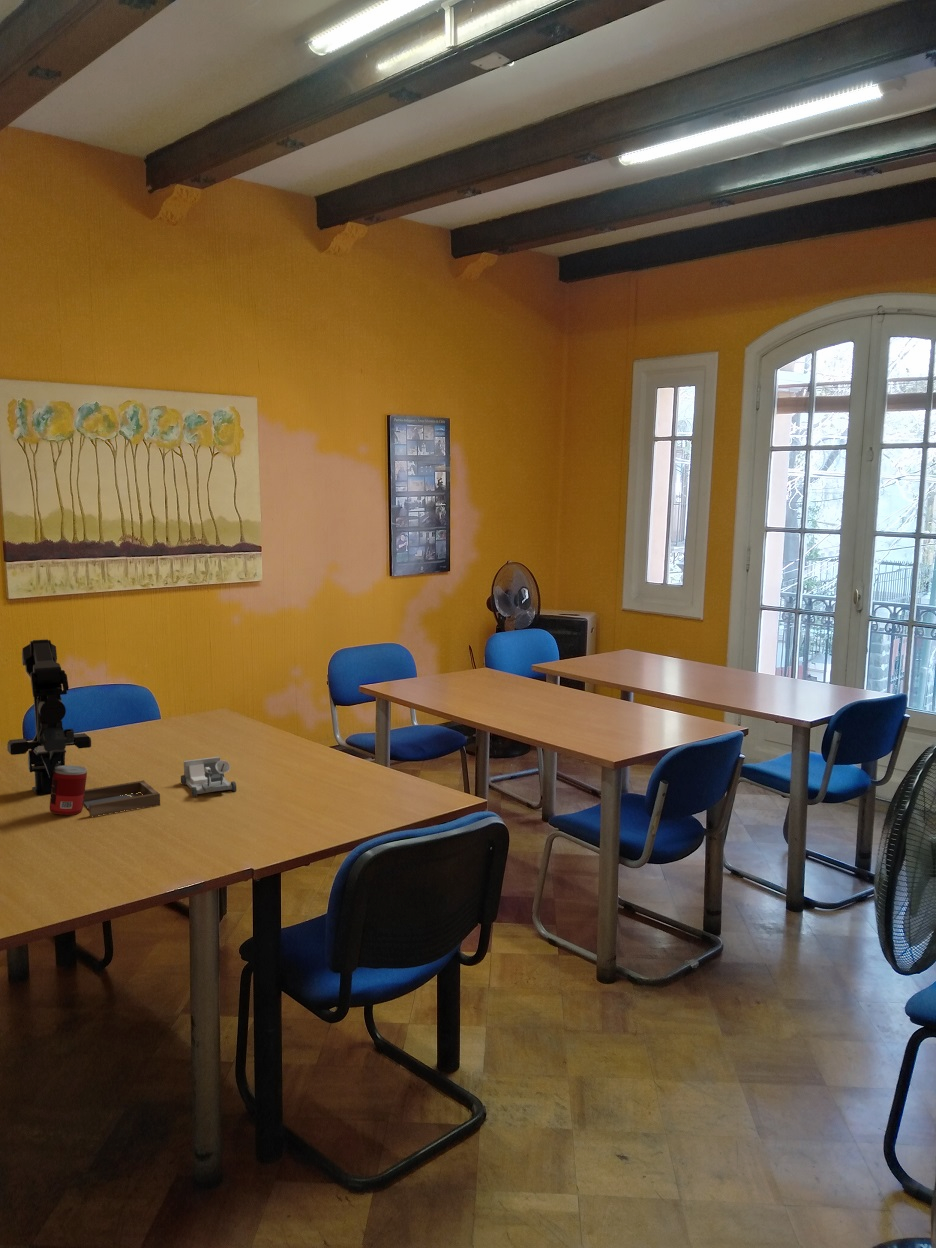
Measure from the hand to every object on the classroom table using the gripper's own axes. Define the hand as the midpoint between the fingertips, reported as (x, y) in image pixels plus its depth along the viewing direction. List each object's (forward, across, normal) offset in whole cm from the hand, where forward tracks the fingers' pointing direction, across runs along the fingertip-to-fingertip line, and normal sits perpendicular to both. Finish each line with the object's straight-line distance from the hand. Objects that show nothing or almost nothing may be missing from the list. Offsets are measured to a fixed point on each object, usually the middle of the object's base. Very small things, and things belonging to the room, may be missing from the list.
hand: (50, 777), depth 239 cm
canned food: (+10, +4, +1) cm, 10 cm away
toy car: (+9, +41, +1) cm, 42 cm away
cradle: (+9, +16, +1) cm, 19 cm away
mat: (+9, +16, +1) cm, 19 cm away
